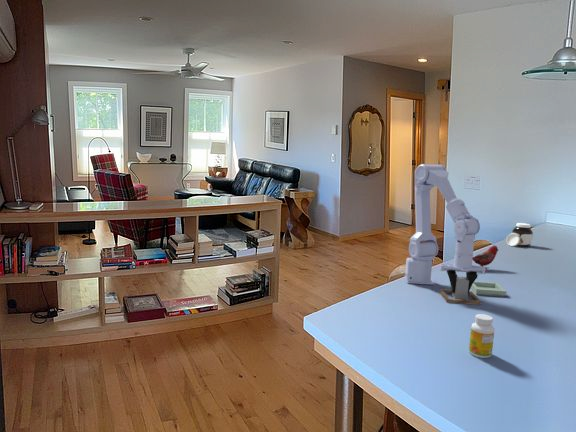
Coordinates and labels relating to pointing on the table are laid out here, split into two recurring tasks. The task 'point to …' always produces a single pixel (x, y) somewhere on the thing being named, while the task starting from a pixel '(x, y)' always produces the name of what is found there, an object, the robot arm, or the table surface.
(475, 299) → the walnut frame
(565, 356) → the table surface
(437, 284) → the table surface
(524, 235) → the spread jar
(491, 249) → the decorative bird figurine
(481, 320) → the supplement bottle
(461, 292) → the stone block
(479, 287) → the sage tray
